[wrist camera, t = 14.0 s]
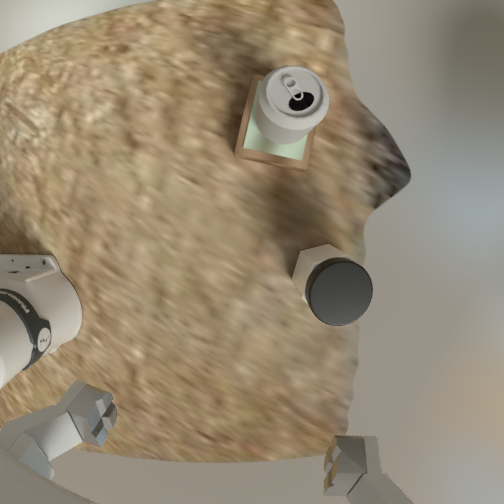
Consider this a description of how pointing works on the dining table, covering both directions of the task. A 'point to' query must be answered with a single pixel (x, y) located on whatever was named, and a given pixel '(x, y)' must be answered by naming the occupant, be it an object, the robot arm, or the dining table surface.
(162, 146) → the dining table surface
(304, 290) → the jar
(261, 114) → the can
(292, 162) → the picture frame
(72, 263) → the dining table surface
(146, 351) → the dining table surface
